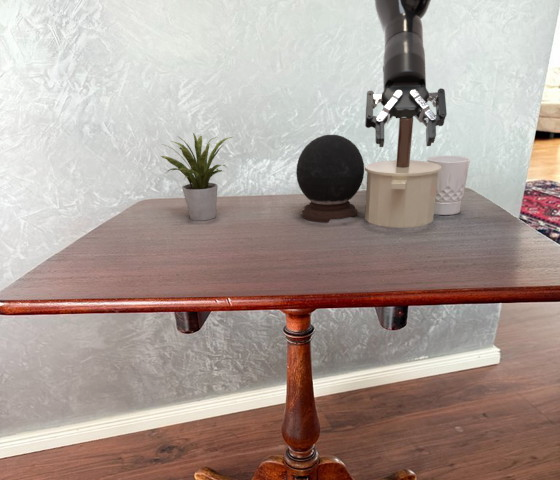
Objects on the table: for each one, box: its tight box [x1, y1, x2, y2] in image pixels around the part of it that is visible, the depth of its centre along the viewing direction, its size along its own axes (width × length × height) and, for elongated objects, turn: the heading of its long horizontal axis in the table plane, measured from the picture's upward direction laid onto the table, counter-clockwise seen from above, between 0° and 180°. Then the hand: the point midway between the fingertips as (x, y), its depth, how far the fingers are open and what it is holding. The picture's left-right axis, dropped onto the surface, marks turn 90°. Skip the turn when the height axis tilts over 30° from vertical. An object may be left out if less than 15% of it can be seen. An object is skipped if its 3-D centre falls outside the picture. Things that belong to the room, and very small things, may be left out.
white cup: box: [426, 155, 471, 216], centre depth 107 cm, size 8×8×10 cm
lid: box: [364, 117, 441, 176], centre depth 97 cm, size 14×14×9 cm
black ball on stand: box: [296, 134, 365, 223], centre depth 106 cm, size 13×13×15 cm
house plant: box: [160, 132, 233, 222], centre depth 108 cm, size 14×14×16 cm
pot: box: [364, 171, 438, 229], centre depth 101 cm, size 13×18×10 cm
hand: (405, 143), depth 95 cm, fingers open, 8 cm apart
